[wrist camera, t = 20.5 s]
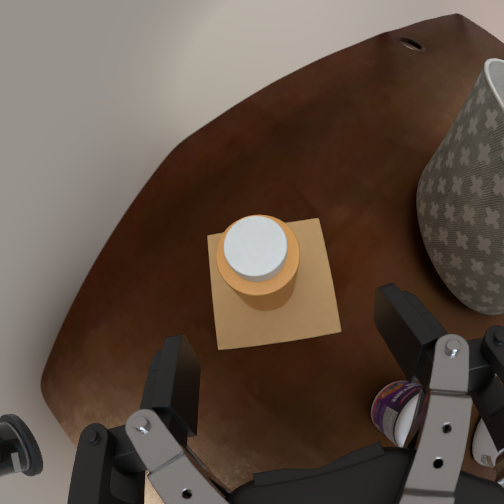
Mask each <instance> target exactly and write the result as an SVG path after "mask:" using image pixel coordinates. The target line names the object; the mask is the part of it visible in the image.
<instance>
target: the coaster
mask: <svg viewBox="0 0 504 504" xmlns="http://www.w3.org/2000/svg"><path fill="white" fill-rule="evenodd" d="M285 224H286V225H287V226H289V227H290V228H291V230H292V231H293V232H294V234H295V236H296V237H297V240H298V242H299V246H300V262H299V267H298V272H297V277H296V282H295V287H294V291H293V293H292V296H291V297H290V299H289V300H288V301H287V302H286V303H285V304H284V305H283V306H281V307H279V308H277V309H275V310H271V311H261V310H257V309H254V308H252V307H250V306H249V305H247V304H246V303H245V302H244V301H243V300H242V299H241V298H240V297H239V296H238V295H237V294H236V293H235V292H234V290H233V289H232V288H231V287H230V286H229V285H228V284H227V283H226V282H225V281H224V280H223V278H222V277H221V275H220V273H219V271H218V268H217V264H216V249H217V245H218V242H219V240H220V238H221V236H222V234H223V233H219V234H213V235H208V236H207V238H208V251H209V264H210V276H211V287H212V297H213V307H214V317H215V326H216V335H217V344H218V350H224V349H234V348H243V347H251V346H259V345H267V344H274V343H281V342H288V341H294V340H300V339H306V338H312V337H317V336H323V335H328V334H333V333H338V332H341V326H340V320H339V314H338V308H337V303H336V297H335V292H334V287H333V281H332V276H331V271H330V266H329V262H328V257H327V252H326V248H325V243H324V239H323V234H322V230H321V226H320V222H319V218H315V219H309V220H302V221H295V222H288V223H285Z"/></svg>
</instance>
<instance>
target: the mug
mask: <svg viewBox="0 0 504 504" xmlns="http://www.w3.org/2000/svg"><path fill="white" fill-rule="evenodd" d="M472 453H473V456H474V459H475V460H476V461H477V462H478V463H479V464H481V465H484V466H489V467H493V468H494V466H495V460H496V457H497V454H498V452H497V450H496V447H495V445H494V443H493V441H492V438H491V436H490V434H489V432H488V430H487V428H486V426H485V424H484V422H483V420H482V418H481V419H480V421H479V423H478V425H477V428H476V431H475V434H474V438H473V443H472Z"/></svg>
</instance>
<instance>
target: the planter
mask: <svg viewBox="0 0 504 504" xmlns="http://www.w3.org/2000/svg"><path fill="white" fill-rule="evenodd" d="M416 206H417V216H418V223H419V227H420V232H421V235H422V239H423V242H424V244H425V247H426V250H427V252H428V255H429V257H430V259H431V261H432V263H433V265H434V267H435V269H436V271H437V272H438V274H439V276H440V277H441V279H442V280H443V282H444V283H445V285H446V286H447V287H448V288H449V290H450V291H451V292H452V293H453V294H454V295H455V296H456V297H457V298H458V299H459V300H460V301H461V302H462V303H463V304H465V305H466V306H468V307H469V308H471V309H473V310H474V311H477V312H479V313H482V314H486V315H500V314H504V61H503V60H500V59H495V58H492V59H488V60H487V61H486V62H485V64H484V66H483V68H482V70H481V72H480V74H479V76H478V78H477V80H476V82H475V84H474V86H473V88H472V90H471V92H470V94H469V96H468V98H467V99H466V101H465V103H464V105H463V107H462V109H461V110H460V112H459V114H458V116H457V117H456V119H455V121H454V122H453V124H452V126H451V128H450V129H449V131H448V133H447V134H446V136H445V137H444V139H443V141H442V142H441V144H440V146H439V147H438V149H437V150H436V152H435V153H434V155H433V156H432V158H431V160H430V161H429V163H428V164H427V166H426V167H425V169H424V170H423V172H422V174H421V177H420V180H419V183H418V188H417V196H416Z"/></svg>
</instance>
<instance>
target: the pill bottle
mask: <svg viewBox="0 0 504 504" xmlns="http://www.w3.org/2000/svg"><path fill="white" fill-rule="evenodd" d="M420 388H421V384H418V383H412V384H410V383H409V381H404V380H401V381H395V382H393V383H390V384H389V385H387V386H385V387H384V388H383V389H382V390H381V391H380V392H379V393H378V394H377V396H376V397H375V399H374V401H373V404H372V408H371V418H372V421H373V423H374V425H375V426H376V427H377V429H378V430H379V431H381V432H382V433H383V434H384V435H385V436H386V437H387V438H389V439H390V440H391V441H392V442H393V443H394V444H395V445H397V446H398V447H403V445H404V442H405V440H406V437H407V435H408V432H409V430H410V427H411V424H412V420H413V416H414V413H415V409H416V405H417V401H418V396H419V392H420Z"/></svg>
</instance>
